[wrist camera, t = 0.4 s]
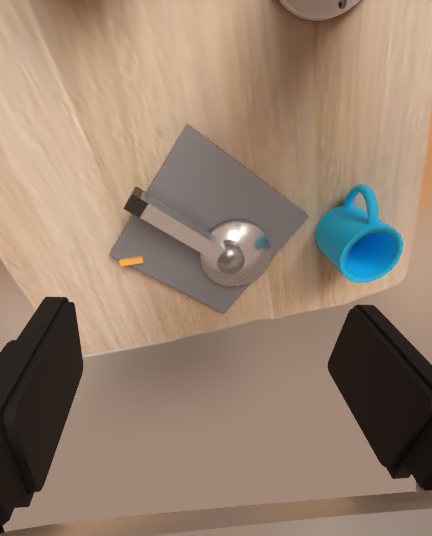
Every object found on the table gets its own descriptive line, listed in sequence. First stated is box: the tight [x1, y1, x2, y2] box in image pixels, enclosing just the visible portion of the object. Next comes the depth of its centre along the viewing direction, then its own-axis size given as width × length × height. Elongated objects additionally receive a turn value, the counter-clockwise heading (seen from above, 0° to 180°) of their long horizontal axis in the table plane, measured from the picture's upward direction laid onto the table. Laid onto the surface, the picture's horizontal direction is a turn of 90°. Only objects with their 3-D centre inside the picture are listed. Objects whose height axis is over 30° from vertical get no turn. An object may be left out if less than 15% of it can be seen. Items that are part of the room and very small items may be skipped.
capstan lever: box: [124, 187, 271, 286], centre depth 38 cm, size 10×21×5 cm, turn 54°
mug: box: [315, 184, 403, 282], centre depth 40 cm, size 12×8×8 cm
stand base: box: [109, 123, 309, 313], centre depth 41 cm, size 20×20×2 cm
